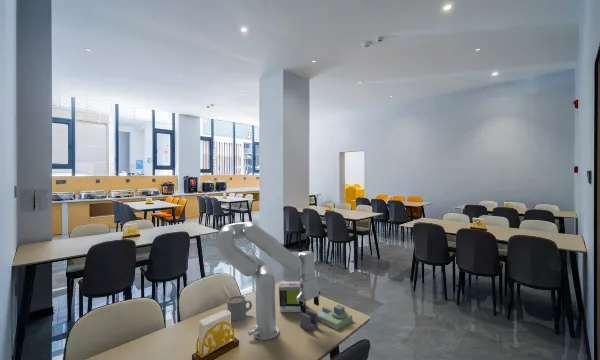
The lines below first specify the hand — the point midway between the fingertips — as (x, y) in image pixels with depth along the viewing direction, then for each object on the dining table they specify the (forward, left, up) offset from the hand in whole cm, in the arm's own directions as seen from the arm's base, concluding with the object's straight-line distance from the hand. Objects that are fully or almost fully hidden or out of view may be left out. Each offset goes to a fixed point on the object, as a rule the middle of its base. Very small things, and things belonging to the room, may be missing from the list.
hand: (310, 308), depth 145 cm
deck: (+13, -3, -9) cm, 16 cm away
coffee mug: (-20, +36, -10) cm, 43 cm away
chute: (-1, 0, -10) cm, 9 cm away
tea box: (+7, +21, -10) cm, 25 cm away
